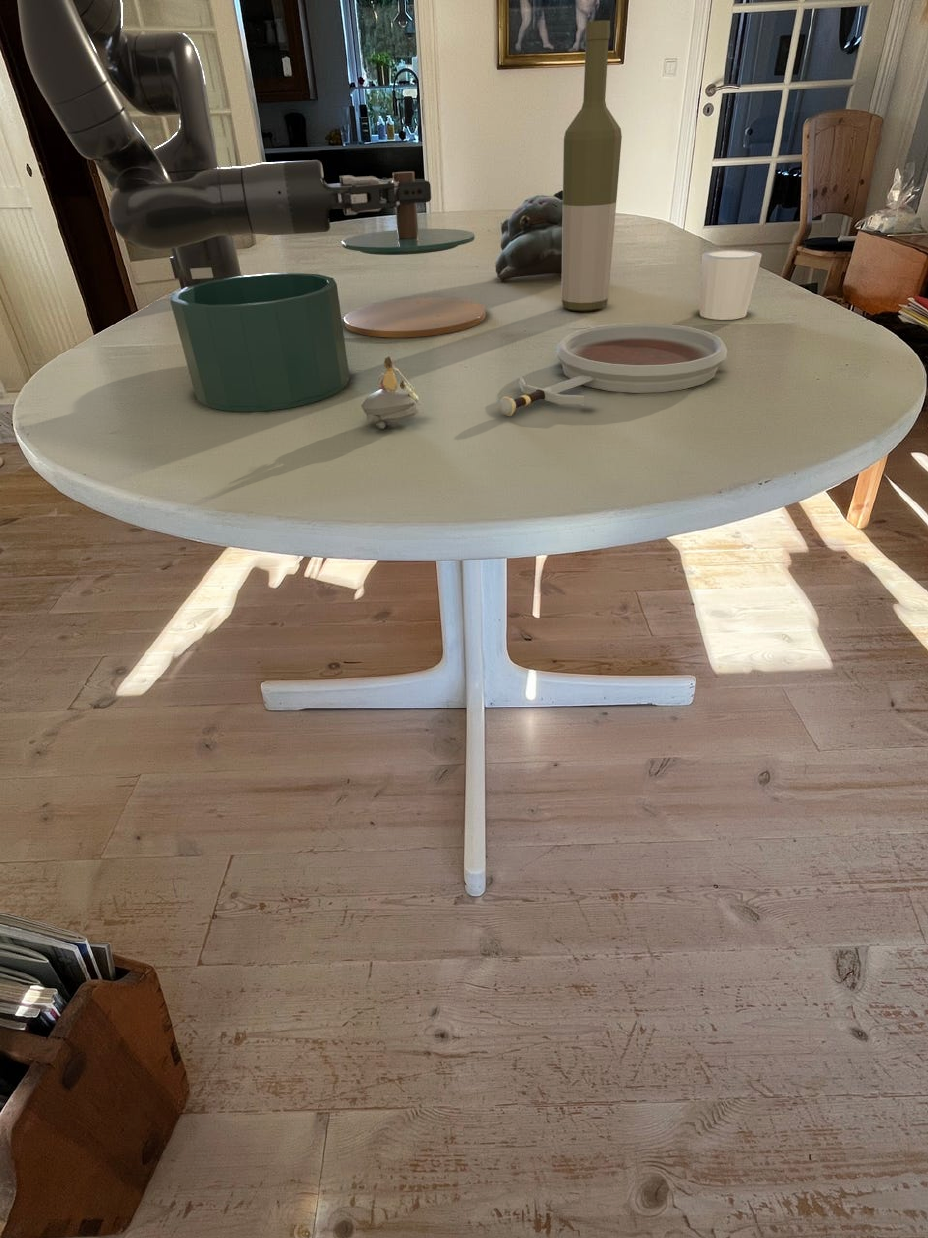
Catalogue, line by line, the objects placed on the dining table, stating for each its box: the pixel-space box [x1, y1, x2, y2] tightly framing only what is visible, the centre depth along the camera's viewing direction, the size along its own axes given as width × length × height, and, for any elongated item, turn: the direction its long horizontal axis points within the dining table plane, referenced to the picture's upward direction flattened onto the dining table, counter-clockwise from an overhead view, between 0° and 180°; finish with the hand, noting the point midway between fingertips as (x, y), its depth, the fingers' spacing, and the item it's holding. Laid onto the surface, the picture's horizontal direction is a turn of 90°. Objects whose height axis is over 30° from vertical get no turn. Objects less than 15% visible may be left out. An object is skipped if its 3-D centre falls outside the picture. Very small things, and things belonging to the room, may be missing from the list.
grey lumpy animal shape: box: [494, 189, 563, 282], centre depth 113 cm, size 15×12×14 cm
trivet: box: [343, 297, 487, 339], centre depth 96 cm, size 19×19×1 cm
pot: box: [170, 272, 350, 413], centre depth 72 cm, size 16×16×10 cm
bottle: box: [561, 20, 623, 312], centre depth 88 cm, size 7×7×30 cm
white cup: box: [699, 249, 762, 321], centre depth 88 cm, size 7×7×7 cm
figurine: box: [360, 356, 422, 430], centre depth 62 cm, size 5×4×6 cm
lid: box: [341, 171, 476, 256], centre depth 89 cm, size 17×17×8 cm
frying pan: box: [498, 322, 729, 417], centre depth 70 cm, size 17×3×28 cm
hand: (428, 190), depth 88 cm, fingers closed on lid, 2 cm apart
